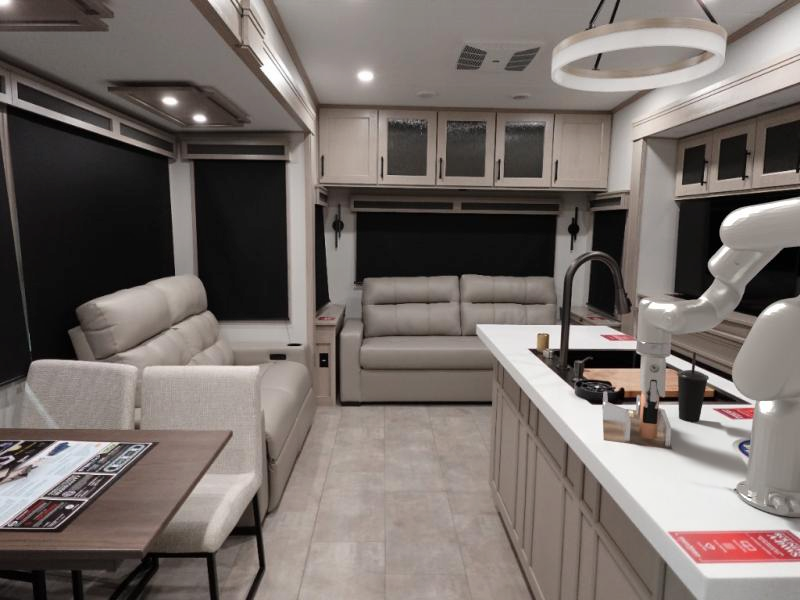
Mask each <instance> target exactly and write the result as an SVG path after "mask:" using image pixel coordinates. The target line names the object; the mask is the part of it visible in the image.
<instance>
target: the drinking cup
mask: <svg viewBox="0 0 800 600" xmlns="http://www.w3.org/2000/svg"><path fill="white" fill-rule="evenodd" d="M696 358H697V352H692V362H691V369H685V370H681V371H678V372H676V375H677V385H678V387H677V389H678V390H677V391H678V393H677V395H678V396H677V397H678V399H677V400H678V418H679V420H680V421H683V422H688V423H699V421H700V419H701V414H702V409H703V403H704V398H705V393H706V388H707V383H708V380H709V378H710V377H709V376H708V375H707V374H705V373H703V372H701V371H698V370H695V369H696Z"/></svg>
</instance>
